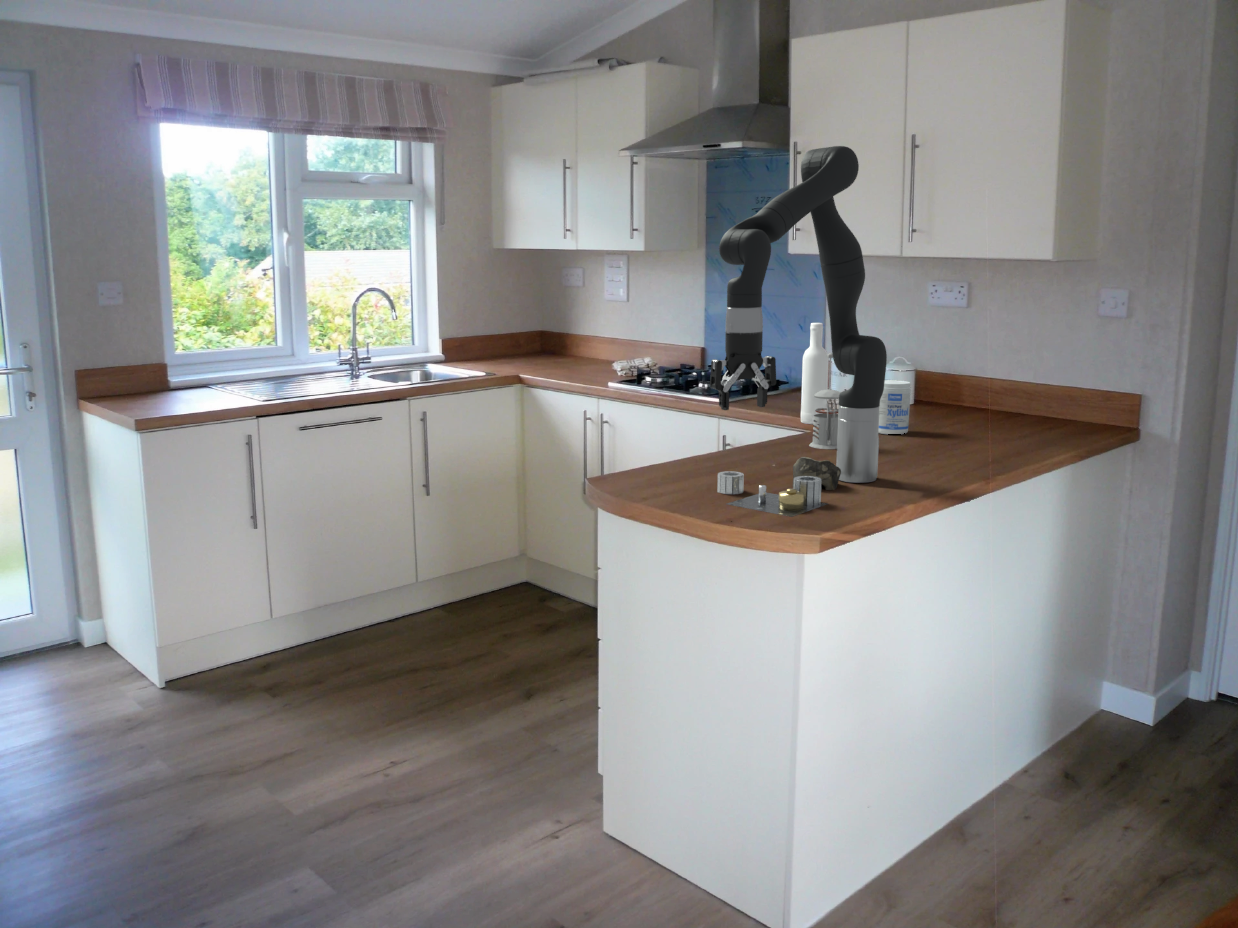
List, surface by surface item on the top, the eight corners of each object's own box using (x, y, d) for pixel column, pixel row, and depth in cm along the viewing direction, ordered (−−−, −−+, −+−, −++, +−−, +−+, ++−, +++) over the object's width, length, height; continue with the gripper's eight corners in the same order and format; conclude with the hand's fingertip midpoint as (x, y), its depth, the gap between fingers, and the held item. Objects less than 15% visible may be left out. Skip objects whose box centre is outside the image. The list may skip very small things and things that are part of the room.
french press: (843, 442, 295) (847, 351, 290) (848, 450, 284) (852, 355, 279) (807, 442, 296) (810, 351, 291) (810, 450, 285) (813, 355, 280)
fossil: (833, 482, 245) (841, 448, 238) (841, 509, 238) (849, 474, 231) (786, 481, 244) (792, 447, 238) (792, 508, 237) (799, 474, 231)
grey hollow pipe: (797, 498, 227) (798, 475, 226) (823, 500, 225) (824, 477, 224) (789, 503, 222) (790, 480, 221) (815, 506, 220) (816, 482, 219)
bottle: (811, 419, 333) (815, 321, 327) (832, 422, 327) (835, 323, 321) (794, 422, 328) (797, 323, 322) (815, 425, 322) (818, 324, 316)
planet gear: (727, 492, 238) (727, 470, 237) (748, 496, 234) (748, 473, 233) (712, 496, 234) (712, 474, 233) (733, 500, 230) (733, 477, 229)
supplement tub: (889, 436, 304) (892, 384, 301) (867, 431, 312) (869, 380, 309) (915, 433, 308) (918, 382, 305) (892, 428, 316) (895, 378, 313)
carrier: (763, 497, 233) (764, 474, 232) (828, 509, 223) (829, 485, 222) (725, 509, 223) (725, 485, 222) (791, 522, 212) (792, 497, 211)
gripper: (764, 326, 225) (763, 403, 229) (704, 329, 220) (703, 408, 223) (783, 329, 219) (782, 408, 222) (721, 332, 213) (721, 413, 217)
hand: (743, 408), depth 223 cm, fingers open, 8 cm apart
